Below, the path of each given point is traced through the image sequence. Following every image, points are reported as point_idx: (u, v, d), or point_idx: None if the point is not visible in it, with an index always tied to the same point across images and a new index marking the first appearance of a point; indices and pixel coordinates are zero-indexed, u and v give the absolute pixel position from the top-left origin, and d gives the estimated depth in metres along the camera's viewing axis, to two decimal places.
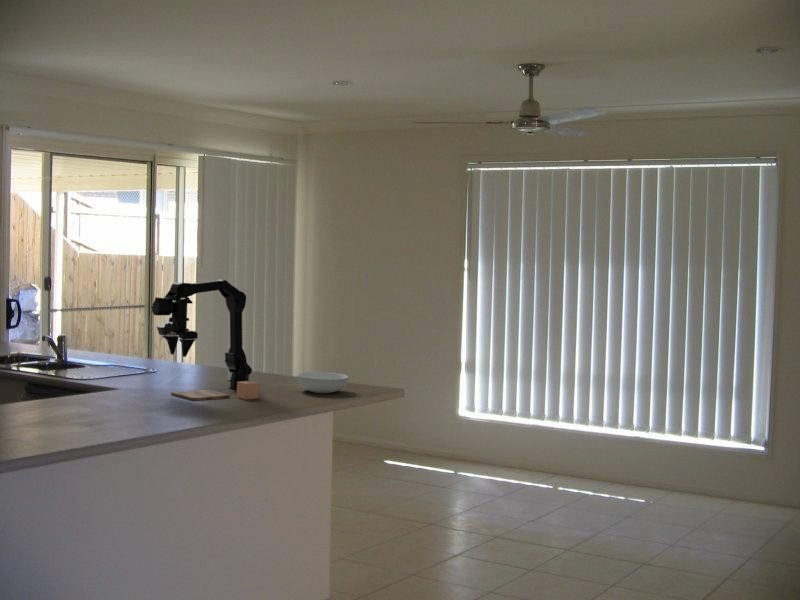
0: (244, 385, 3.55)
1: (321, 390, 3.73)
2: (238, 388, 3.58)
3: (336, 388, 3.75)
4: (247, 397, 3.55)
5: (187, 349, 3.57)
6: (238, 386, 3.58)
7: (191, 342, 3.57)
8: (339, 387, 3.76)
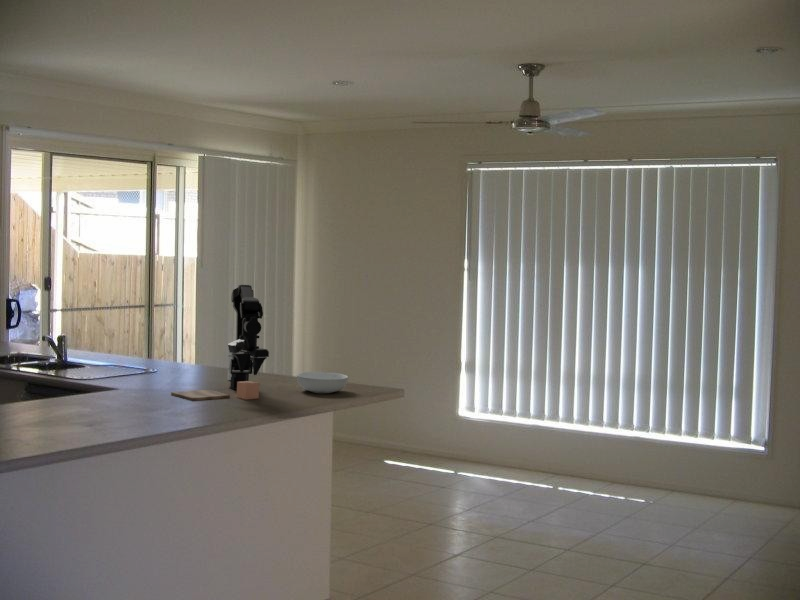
0: (244, 385, 3.55)
1: (321, 390, 3.73)
2: (238, 388, 3.58)
3: (336, 388, 3.75)
4: (247, 397, 3.55)
5: (258, 367, 3.54)
6: (238, 386, 3.58)
7: (262, 360, 3.54)
8: (339, 387, 3.76)
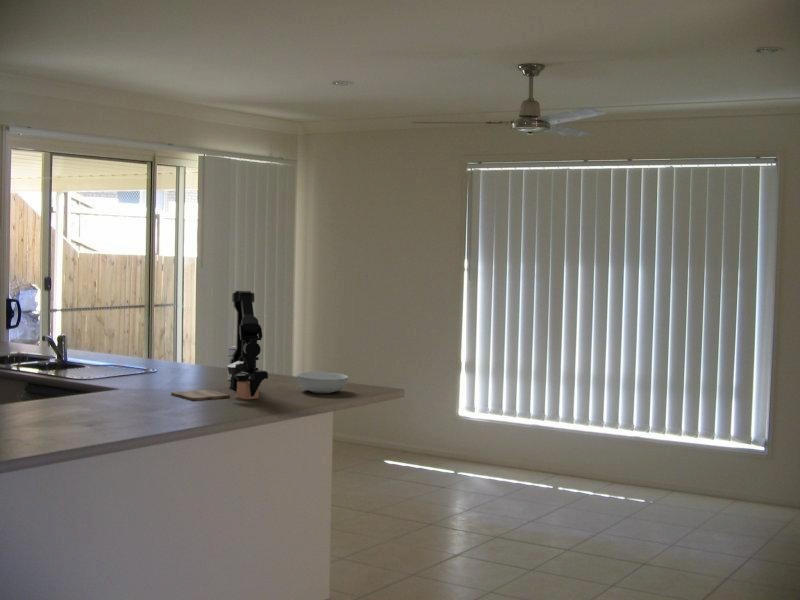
0: (244, 385, 3.55)
1: (321, 390, 3.73)
2: (238, 388, 3.58)
3: (336, 388, 3.75)
4: (247, 397, 3.55)
5: (255, 388, 3.56)
6: (238, 386, 3.58)
7: (259, 381, 3.56)
8: (339, 387, 3.76)
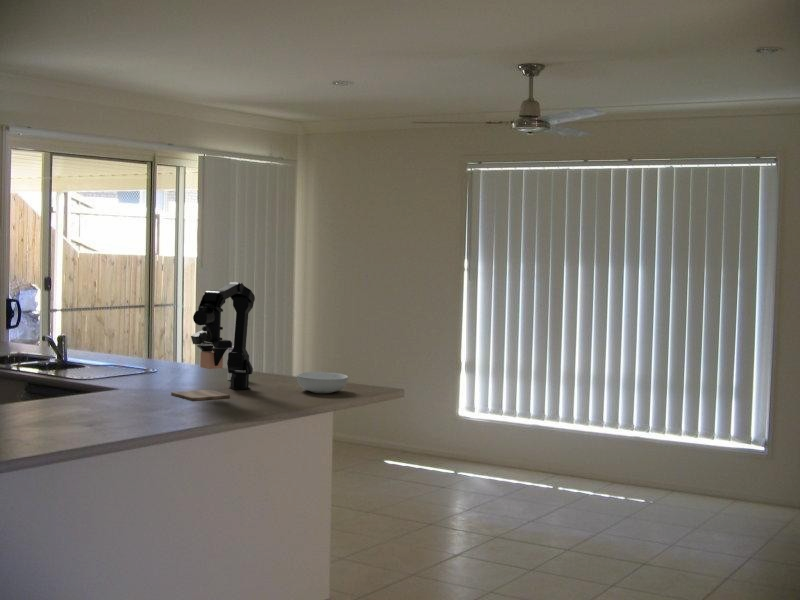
0: (208, 354, 3.53)
1: (321, 390, 3.73)
2: (202, 358, 3.56)
3: (336, 388, 3.75)
4: (211, 366, 3.53)
5: (219, 358, 3.54)
6: (202, 356, 3.56)
7: (223, 351, 3.54)
8: (339, 387, 3.76)
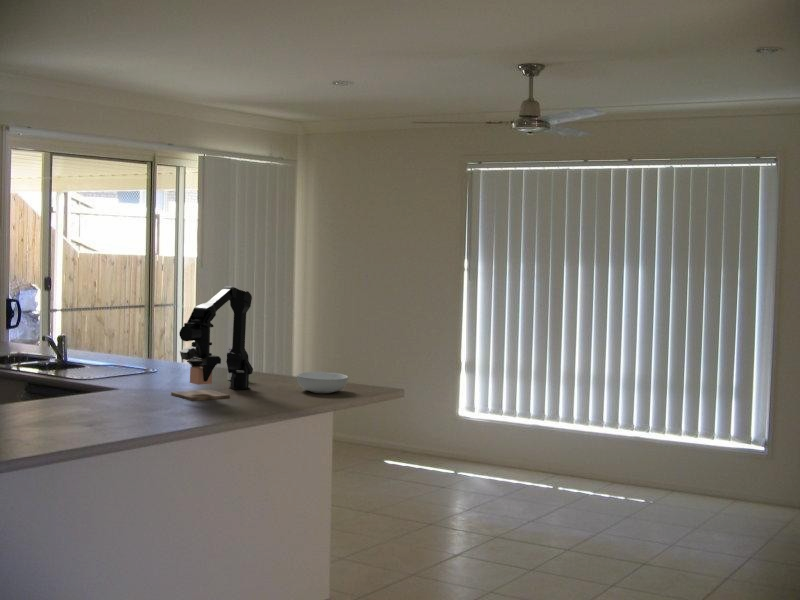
0: (197, 370, 3.53)
1: (321, 390, 3.73)
2: (191, 373, 3.56)
3: (336, 388, 3.75)
4: (200, 382, 3.53)
5: (208, 374, 3.54)
6: (191, 371, 3.56)
7: (212, 366, 3.54)
8: (339, 387, 3.76)
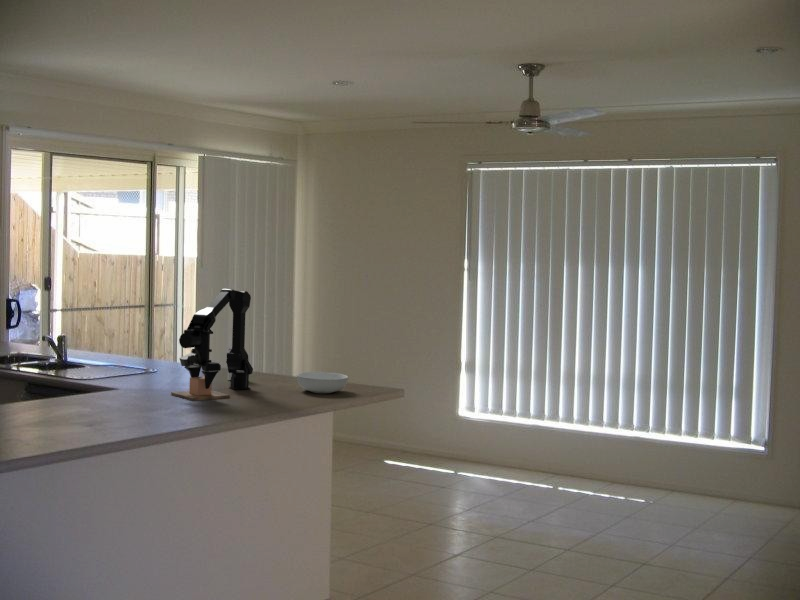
0: (196, 381, 3.53)
1: (321, 390, 3.73)
2: (191, 384, 3.56)
3: (336, 388, 3.75)
4: (199, 393, 3.54)
5: (210, 381, 3.53)
6: (191, 382, 3.56)
7: (214, 374, 3.53)
8: (339, 387, 3.76)
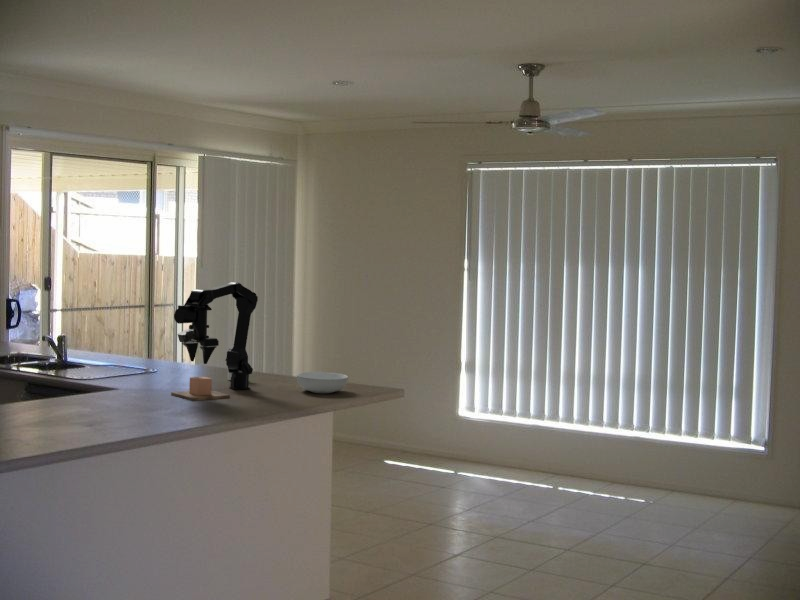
0: (196, 381, 3.53)
1: (321, 390, 3.73)
2: (191, 384, 3.56)
3: (336, 388, 3.75)
4: (199, 393, 3.54)
5: (208, 356, 3.58)
6: (191, 382, 3.56)
7: (212, 349, 3.58)
8: (339, 387, 3.76)
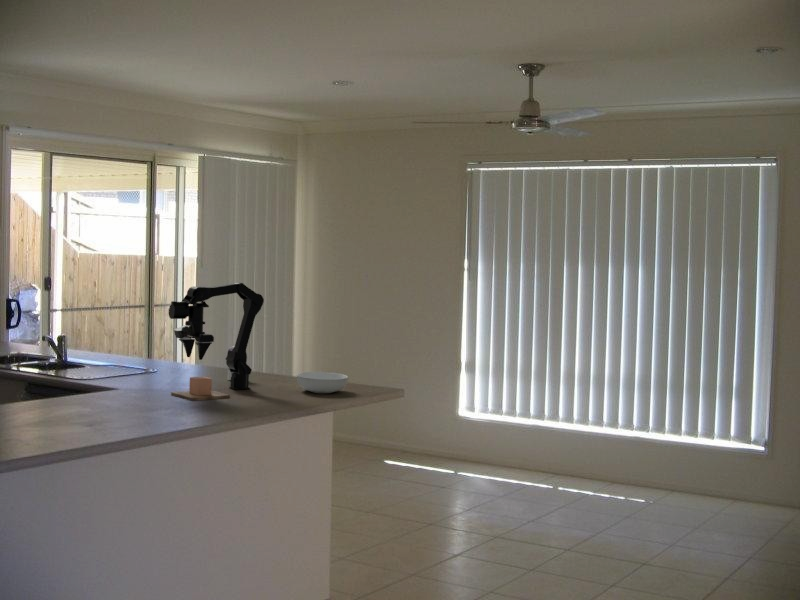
0: (196, 381, 3.53)
1: (321, 390, 3.73)
2: (191, 384, 3.56)
3: (336, 388, 3.75)
4: (199, 393, 3.54)
5: (203, 352, 3.64)
6: (191, 382, 3.56)
7: (207, 345, 3.64)
8: (339, 387, 3.76)
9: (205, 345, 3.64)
